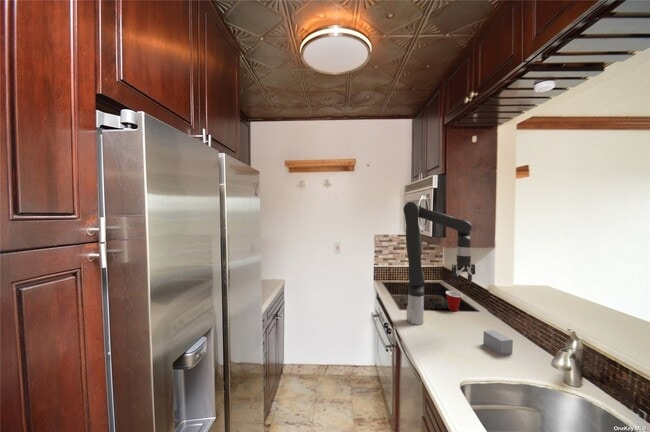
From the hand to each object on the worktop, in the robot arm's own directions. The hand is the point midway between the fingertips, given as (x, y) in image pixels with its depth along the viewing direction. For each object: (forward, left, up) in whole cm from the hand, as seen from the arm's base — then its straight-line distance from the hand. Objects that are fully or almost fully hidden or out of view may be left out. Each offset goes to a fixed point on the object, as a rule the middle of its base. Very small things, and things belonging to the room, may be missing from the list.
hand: (463, 281), depth 156 cm
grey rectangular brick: (+2, -23, -28) cm, 36 cm away
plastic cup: (+16, +28, -28) cm, 43 cm away
